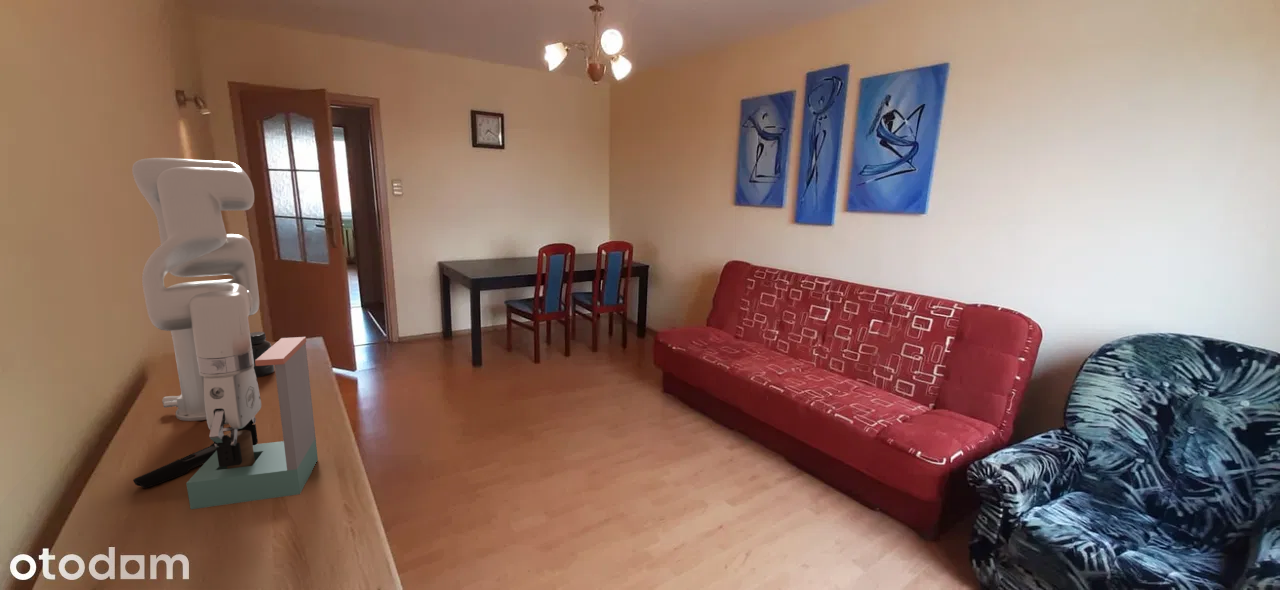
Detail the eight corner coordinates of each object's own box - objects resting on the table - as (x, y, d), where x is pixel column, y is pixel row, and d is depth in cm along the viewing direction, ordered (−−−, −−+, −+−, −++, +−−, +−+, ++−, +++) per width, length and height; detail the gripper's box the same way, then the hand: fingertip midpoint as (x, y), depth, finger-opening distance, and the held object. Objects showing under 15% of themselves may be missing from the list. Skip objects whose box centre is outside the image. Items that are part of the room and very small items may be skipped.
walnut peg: (226, 492, 90) (218, 441, 88) (235, 480, 94) (228, 431, 92) (252, 489, 91) (245, 439, 89) (260, 477, 95) (254, 428, 93)
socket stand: (189, 511, 85) (164, 365, 79) (223, 470, 97) (204, 342, 91) (299, 495, 90) (283, 358, 84) (318, 459, 102) (305, 336, 96)
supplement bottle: (269, 367, 150) (264, 329, 147) (278, 373, 146) (273, 333, 143) (241, 373, 144) (236, 333, 142) (250, 379, 140) (244, 338, 138)
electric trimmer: (129, 492, 90) (126, 476, 89) (222, 450, 104) (220, 436, 104) (143, 496, 89) (140, 480, 88) (235, 453, 103) (233, 439, 103)
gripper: (231, 377, 81) (244, 477, 84) (269, 345, 97) (279, 430, 100) (173, 381, 78) (190, 484, 82) (222, 348, 94) (234, 435, 98)
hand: (239, 454), depth 91 cm, fingers open, 6 cm apart
